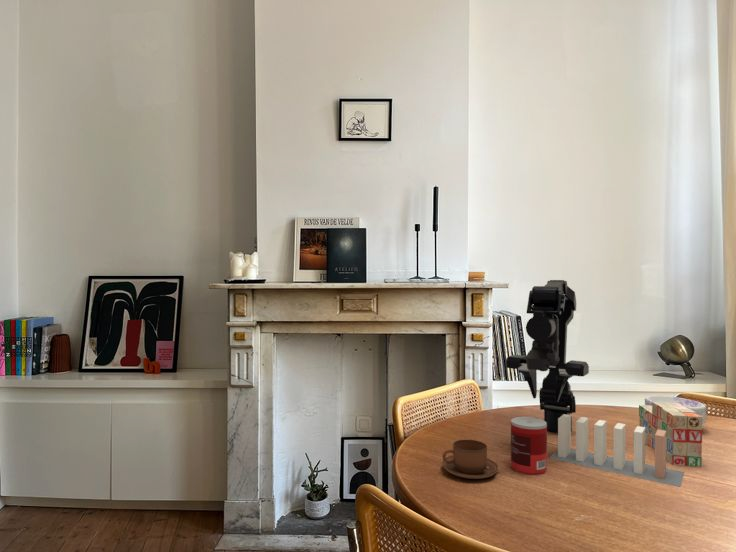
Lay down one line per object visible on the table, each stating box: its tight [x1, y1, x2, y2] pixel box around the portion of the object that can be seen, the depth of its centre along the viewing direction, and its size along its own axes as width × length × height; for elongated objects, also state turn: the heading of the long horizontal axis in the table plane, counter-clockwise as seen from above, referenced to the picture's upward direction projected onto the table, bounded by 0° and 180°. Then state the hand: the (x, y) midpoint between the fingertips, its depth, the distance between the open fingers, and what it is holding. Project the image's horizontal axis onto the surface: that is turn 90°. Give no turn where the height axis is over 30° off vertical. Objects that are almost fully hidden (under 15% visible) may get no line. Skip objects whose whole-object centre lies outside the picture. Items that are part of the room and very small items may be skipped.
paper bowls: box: [644, 395, 707, 425], centre depth 142 cm, size 15×15×8 cm
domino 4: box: [613, 422, 627, 470], centre depth 110 cm, size 2×5×9 cm, turn 143°
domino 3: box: [593, 419, 608, 466], centre depth 112 cm, size 2×5×9 cm, turn 143°
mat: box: [549, 448, 685, 488], centre depth 110 cm, size 26×10×1 cm, turn 53°
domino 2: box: [575, 416, 589, 462], centre depth 115 cm, size 2×5×9 cm, turn 143°
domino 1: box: [557, 414, 572, 458], centre depth 117 cm, size 2×5×9 cm, turn 143°
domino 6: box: [654, 430, 667, 479], centre depth 105 cm, size 2×5×9 cm, turn 143°
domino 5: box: [633, 425, 646, 474], centre depth 107 cm, size 2×5×9 cm, turn 143°
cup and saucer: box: [441, 439, 499, 480], centre depth 107 cm, size 12×12×6 cm
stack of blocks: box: [638, 402, 703, 468], centre depth 121 cm, size 21×6×12 cm, turn 169°
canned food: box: [510, 416, 548, 476], centre depth 108 cm, size 8×8×11 cm
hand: (545, 399), depth 120 cm, fingers open, 5 cm apart
